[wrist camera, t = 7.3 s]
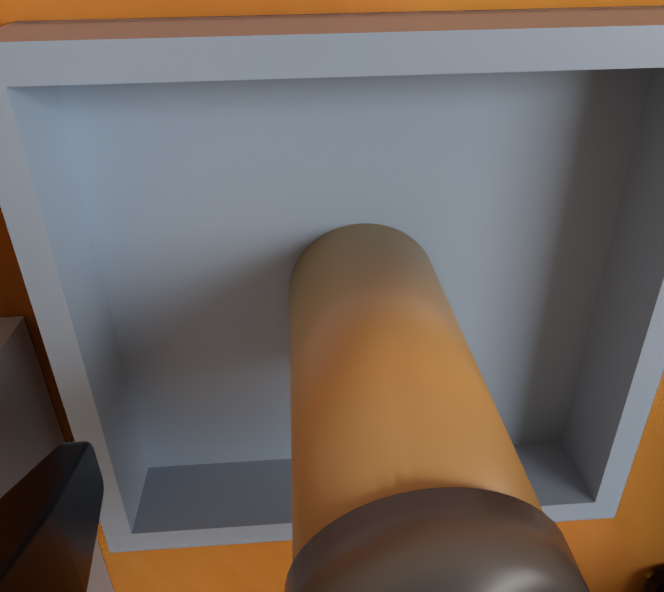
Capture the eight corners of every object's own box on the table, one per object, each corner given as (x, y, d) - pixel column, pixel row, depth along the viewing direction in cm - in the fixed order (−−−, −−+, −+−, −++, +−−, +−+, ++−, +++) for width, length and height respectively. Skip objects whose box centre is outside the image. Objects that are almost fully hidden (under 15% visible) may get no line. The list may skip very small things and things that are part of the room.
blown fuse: (445, 215, 12) (645, 561, 6) (433, 350, 14) (574, 739, 7) (279, 221, 12) (274, 586, 5) (288, 357, 14) (292, 763, 7)
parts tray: (684, 5, 11) (780, 21, 9) (571, 443, 17) (614, 517, 15) (17, 21, 11) (-51, 43, 8) (133, 470, 16) (109, 552, 14)
